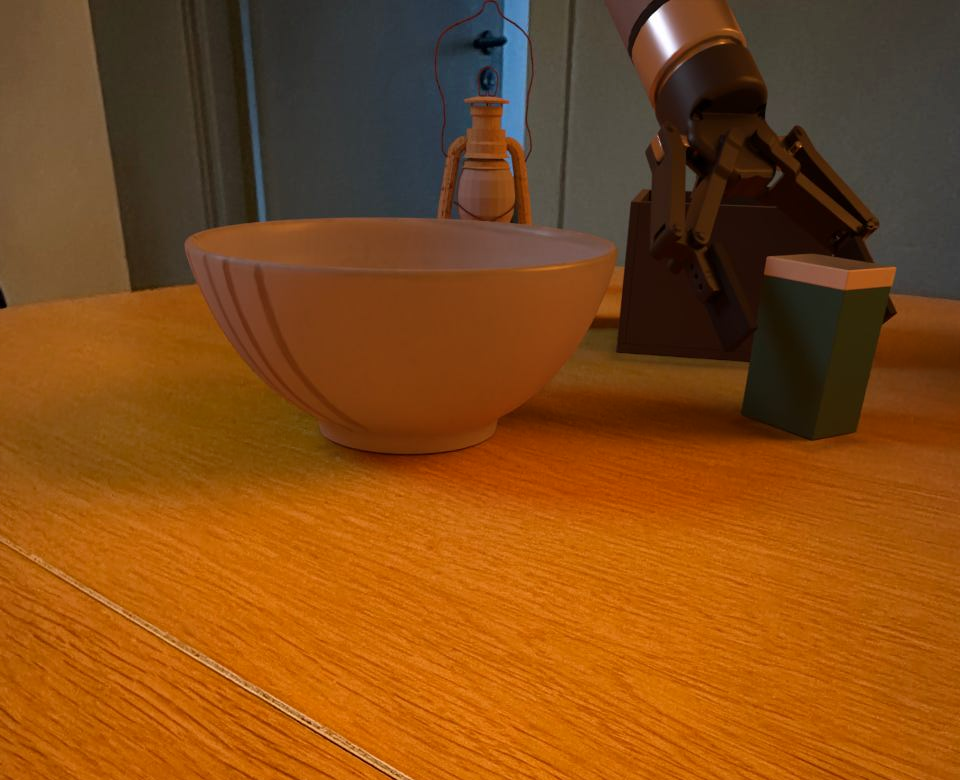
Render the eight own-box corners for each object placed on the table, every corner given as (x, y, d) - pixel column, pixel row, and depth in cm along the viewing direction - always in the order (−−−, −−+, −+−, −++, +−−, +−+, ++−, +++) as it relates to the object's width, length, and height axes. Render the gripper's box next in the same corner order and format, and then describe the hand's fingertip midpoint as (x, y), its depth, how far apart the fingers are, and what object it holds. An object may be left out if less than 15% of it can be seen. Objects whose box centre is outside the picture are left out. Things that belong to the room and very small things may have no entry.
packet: (783, 406, 69) (813, 253, 64) (857, 432, 64) (897, 267, 58) (739, 414, 67) (766, 256, 62) (812, 440, 62) (849, 270, 56)
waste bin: (793, 328, 96) (818, 195, 90) (810, 365, 81) (842, 210, 75) (629, 317, 99) (642, 189, 93) (616, 352, 84) (630, 201, 78)
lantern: (437, 296, 108) (436, -9, 93) (433, 283, 117) (432, 2, 102) (535, 297, 109) (550, -4, 94) (524, 284, 118) (536, 6, 103)
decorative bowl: (137, 478, 53) (97, 256, 47) (285, 369, 76) (272, 211, 69) (594, 512, 50) (616, 280, 44) (604, 388, 73) (620, 225, 67)
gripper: (787, 126, 75) (891, 347, 71) (536, 118, 64) (644, 380, 60) (853, 47, 68) (972, 287, 65) (586, 24, 57) (710, 311, 54)
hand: (814, 332), depth 62 cm, fingers open, 13 cm apart
